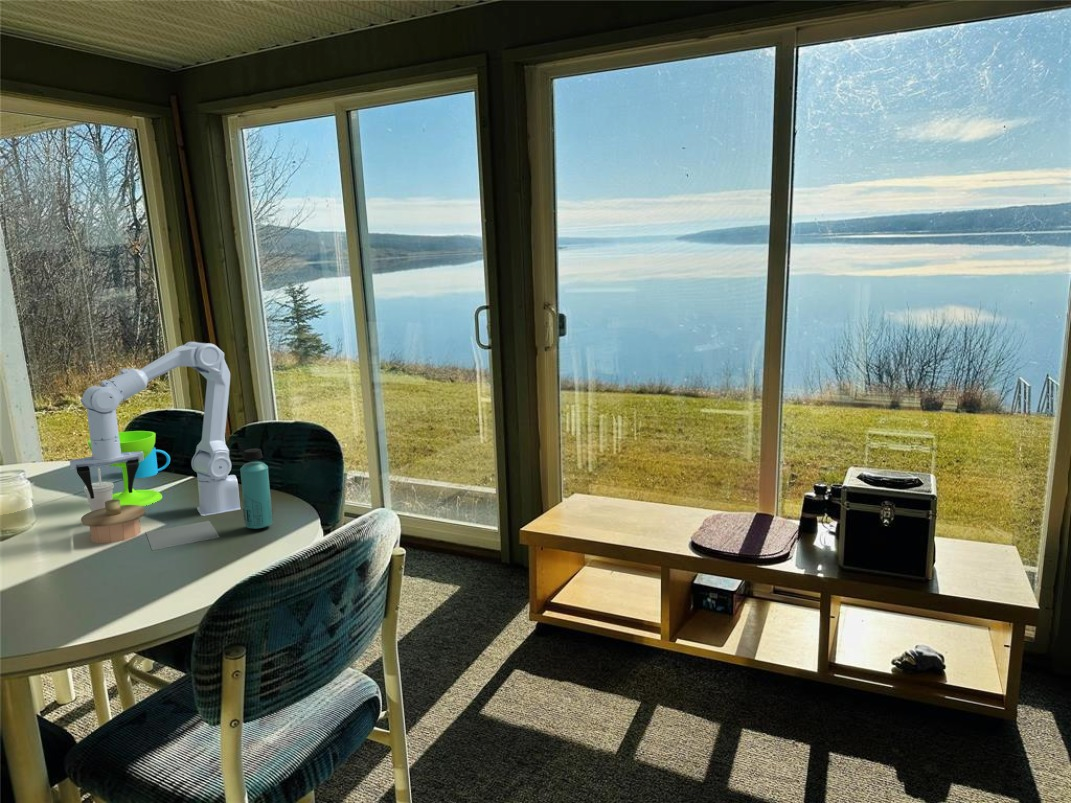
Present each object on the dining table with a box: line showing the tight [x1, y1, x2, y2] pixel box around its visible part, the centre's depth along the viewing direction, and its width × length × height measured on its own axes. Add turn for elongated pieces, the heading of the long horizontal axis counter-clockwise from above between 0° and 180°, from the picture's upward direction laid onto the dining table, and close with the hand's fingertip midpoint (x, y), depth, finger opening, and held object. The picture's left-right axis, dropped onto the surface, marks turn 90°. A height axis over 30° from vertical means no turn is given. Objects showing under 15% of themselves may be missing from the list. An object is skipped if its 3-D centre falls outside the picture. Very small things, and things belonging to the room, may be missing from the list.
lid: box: [80, 499, 146, 527], centre depth 166 cm, size 13×13×4 cm
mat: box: [145, 520, 221, 551], centre depth 167 cm, size 14×14×1 cm
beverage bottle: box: [239, 448, 274, 529], centre depth 169 cm, size 6×7×20 cm
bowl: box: [89, 518, 142, 544], centre depth 167 cm, size 10×10×5 cm
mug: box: [134, 446, 171, 479], centre depth 222 cm, size 12×8×8 cm
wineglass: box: [87, 430, 163, 507], centre depth 193 cm, size 16×16×18 cm
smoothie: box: [83, 467, 115, 512], centre depth 177 cm, size 6×6×14 cm
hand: (111, 494), depth 166 cm, fingers open, 7 cm apart
